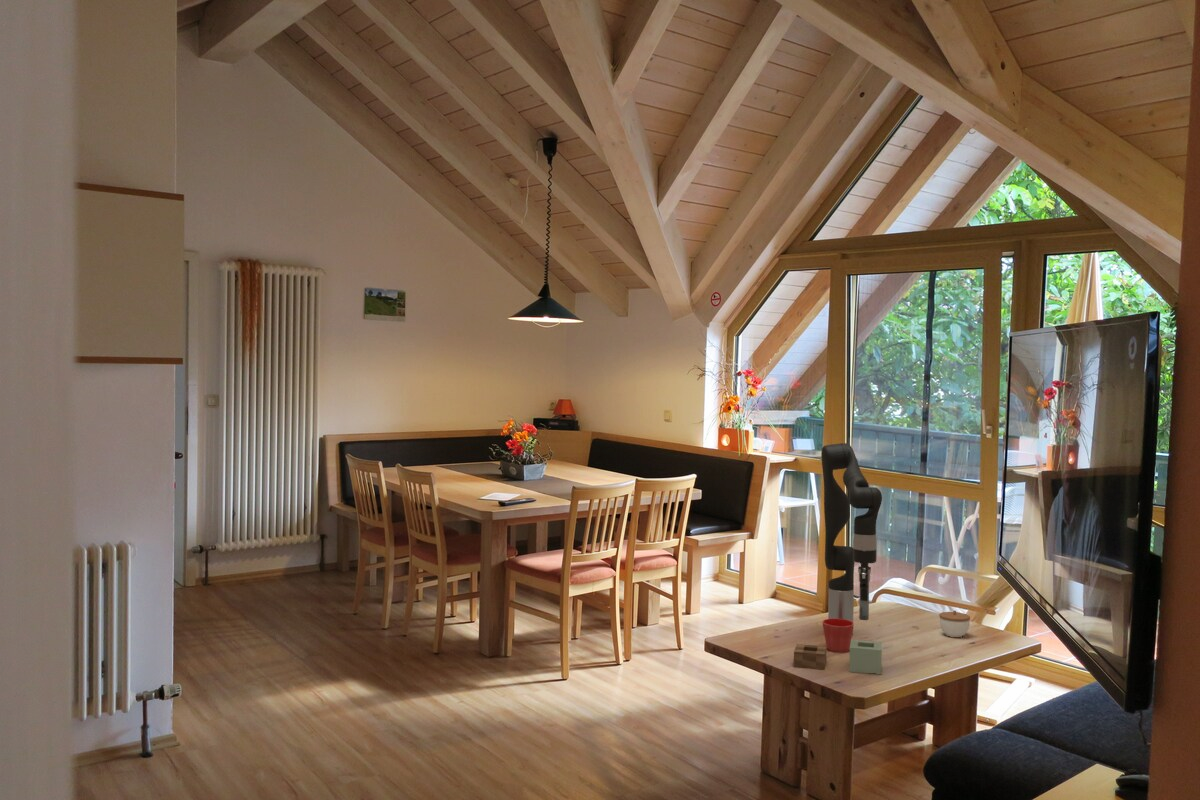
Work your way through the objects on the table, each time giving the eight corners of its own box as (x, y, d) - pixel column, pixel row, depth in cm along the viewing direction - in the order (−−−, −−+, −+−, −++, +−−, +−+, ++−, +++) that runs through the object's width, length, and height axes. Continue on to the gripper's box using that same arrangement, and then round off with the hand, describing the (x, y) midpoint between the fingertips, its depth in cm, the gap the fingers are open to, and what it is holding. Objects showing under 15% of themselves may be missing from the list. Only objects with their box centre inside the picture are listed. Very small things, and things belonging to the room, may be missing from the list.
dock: (850, 663, 320) (850, 639, 320) (881, 665, 317) (881, 642, 317) (849, 671, 311) (849, 647, 310) (881, 674, 308) (881, 650, 308)
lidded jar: (950, 640, 349) (950, 615, 349) (933, 632, 360) (933, 608, 359) (975, 638, 352) (976, 613, 352) (958, 631, 362) (958, 606, 362)
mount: (796, 658, 325) (796, 643, 325) (826, 660, 323) (826, 646, 322) (793, 666, 316) (793, 651, 316) (824, 669, 313) (824, 654, 313)
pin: (859, 617, 316) (859, 575, 315) (868, 618, 315) (869, 576, 314) (859, 619, 313) (859, 577, 312) (868, 620, 312) (868, 578, 312)
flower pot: (830, 654, 331) (830, 626, 330) (817, 645, 341) (817, 618, 341) (858, 652, 333) (859, 625, 332) (844, 644, 343) (845, 617, 343)
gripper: (854, 543, 321) (853, 594, 321) (852, 550, 308) (851, 603, 308) (877, 544, 319) (876, 595, 319) (876, 551, 305) (875, 605, 306)
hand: (864, 599), depth 314 cm, fingers closed on pin, 3 cm apart
